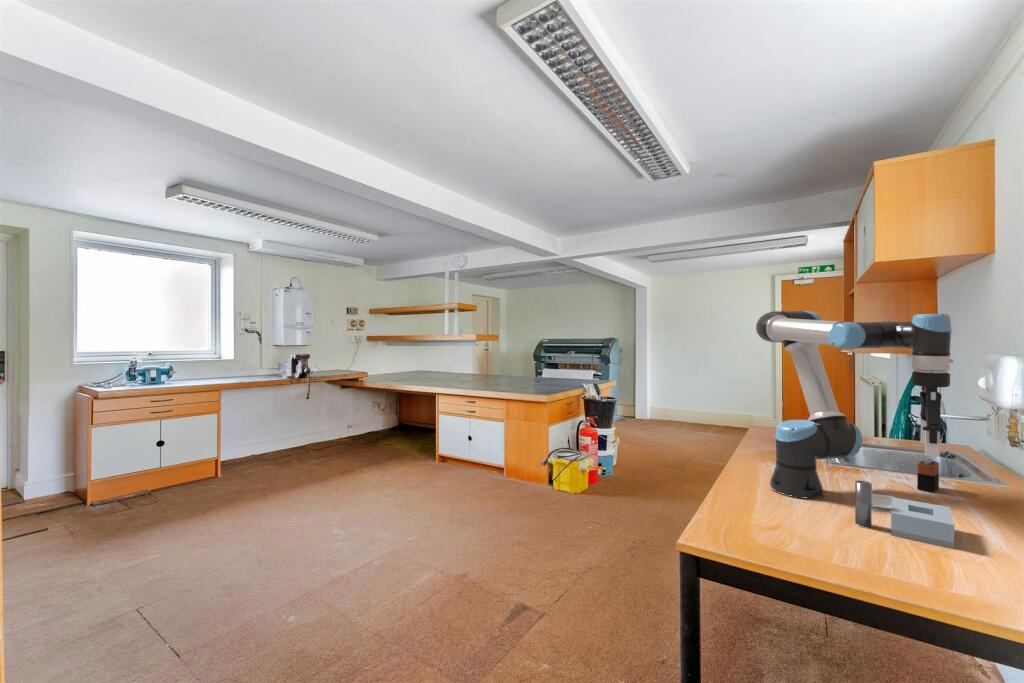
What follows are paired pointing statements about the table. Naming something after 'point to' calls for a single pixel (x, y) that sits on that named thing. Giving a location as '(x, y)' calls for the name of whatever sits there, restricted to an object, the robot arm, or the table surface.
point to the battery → (928, 475)
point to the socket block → (922, 522)
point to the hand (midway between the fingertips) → (929, 449)
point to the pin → (863, 503)
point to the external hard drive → (882, 502)
